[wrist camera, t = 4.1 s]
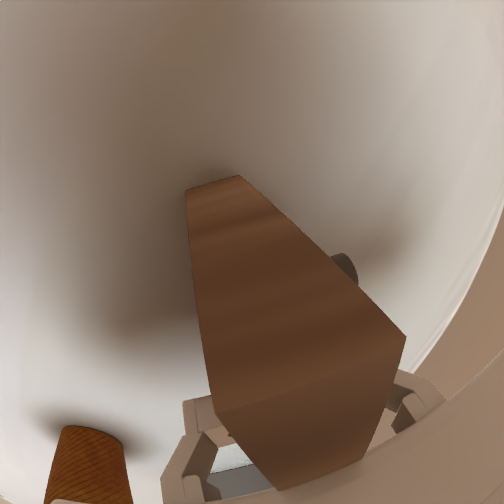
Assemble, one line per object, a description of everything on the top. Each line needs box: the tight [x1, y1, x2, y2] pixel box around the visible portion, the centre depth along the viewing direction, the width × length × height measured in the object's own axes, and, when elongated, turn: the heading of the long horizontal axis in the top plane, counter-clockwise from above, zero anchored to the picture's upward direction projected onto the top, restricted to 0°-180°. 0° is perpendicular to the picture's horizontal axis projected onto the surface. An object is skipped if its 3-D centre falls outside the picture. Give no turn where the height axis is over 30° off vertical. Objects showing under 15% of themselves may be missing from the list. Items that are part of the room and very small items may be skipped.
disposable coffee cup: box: [44, 426, 133, 504], centre depth 13 cm, size 10×10×12 cm
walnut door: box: [185, 175, 406, 491], centre depth 11 cm, size 14×4×10 cm, turn 12°
